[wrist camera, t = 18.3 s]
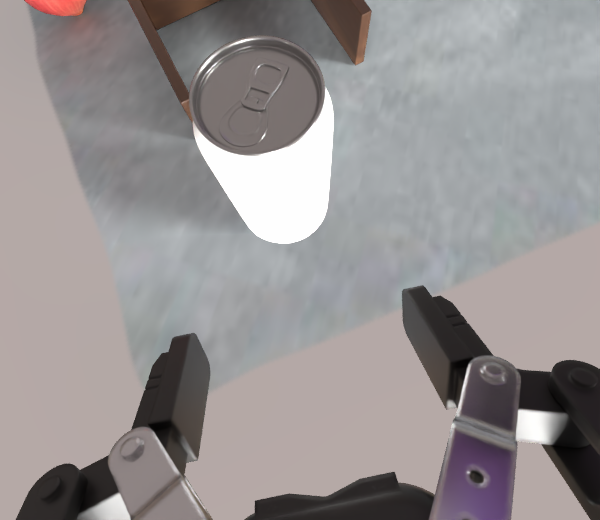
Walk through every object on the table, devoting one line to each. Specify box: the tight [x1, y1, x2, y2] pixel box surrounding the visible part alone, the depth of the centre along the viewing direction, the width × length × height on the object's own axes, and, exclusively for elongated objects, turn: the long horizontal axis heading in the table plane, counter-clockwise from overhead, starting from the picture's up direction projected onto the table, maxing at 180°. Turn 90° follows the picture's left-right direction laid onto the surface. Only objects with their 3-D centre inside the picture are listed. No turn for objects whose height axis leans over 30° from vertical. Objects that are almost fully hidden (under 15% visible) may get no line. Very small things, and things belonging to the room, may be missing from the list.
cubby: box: [128, 0, 372, 123], centre depth 27 cm, size 15×13×4 cm
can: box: [189, 36, 333, 243], centre depth 20 cm, size 6×6×12 cm
